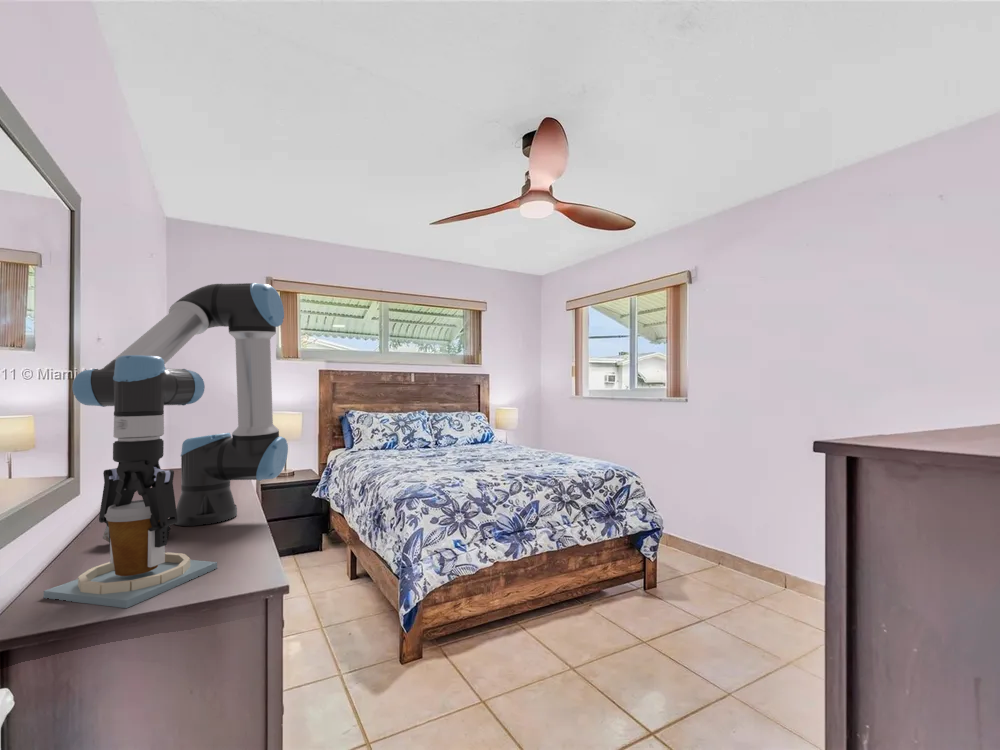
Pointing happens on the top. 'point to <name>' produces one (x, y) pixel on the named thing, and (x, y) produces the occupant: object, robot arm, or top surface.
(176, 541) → the top surface
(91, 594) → the collar base
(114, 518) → the disposable coffee cup
